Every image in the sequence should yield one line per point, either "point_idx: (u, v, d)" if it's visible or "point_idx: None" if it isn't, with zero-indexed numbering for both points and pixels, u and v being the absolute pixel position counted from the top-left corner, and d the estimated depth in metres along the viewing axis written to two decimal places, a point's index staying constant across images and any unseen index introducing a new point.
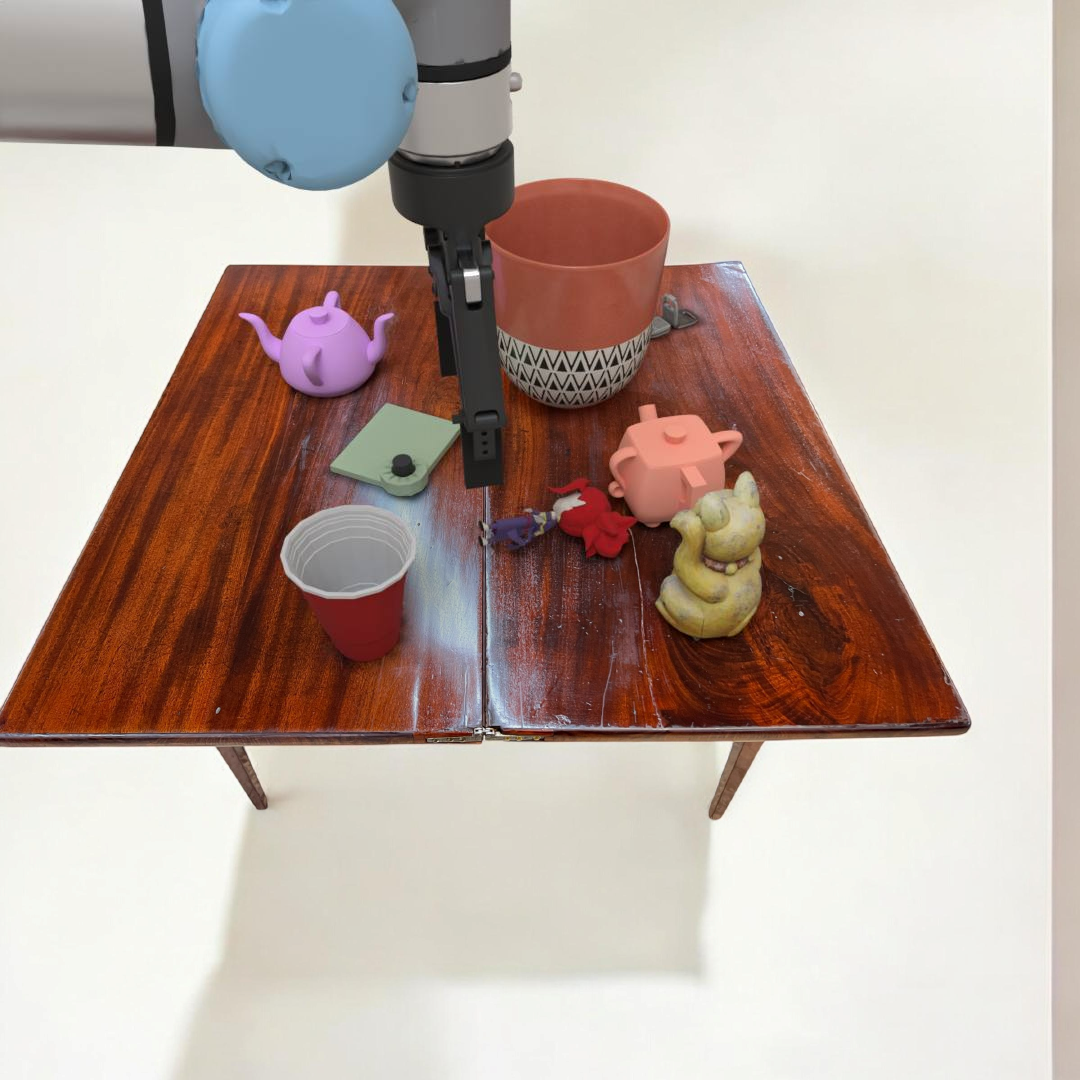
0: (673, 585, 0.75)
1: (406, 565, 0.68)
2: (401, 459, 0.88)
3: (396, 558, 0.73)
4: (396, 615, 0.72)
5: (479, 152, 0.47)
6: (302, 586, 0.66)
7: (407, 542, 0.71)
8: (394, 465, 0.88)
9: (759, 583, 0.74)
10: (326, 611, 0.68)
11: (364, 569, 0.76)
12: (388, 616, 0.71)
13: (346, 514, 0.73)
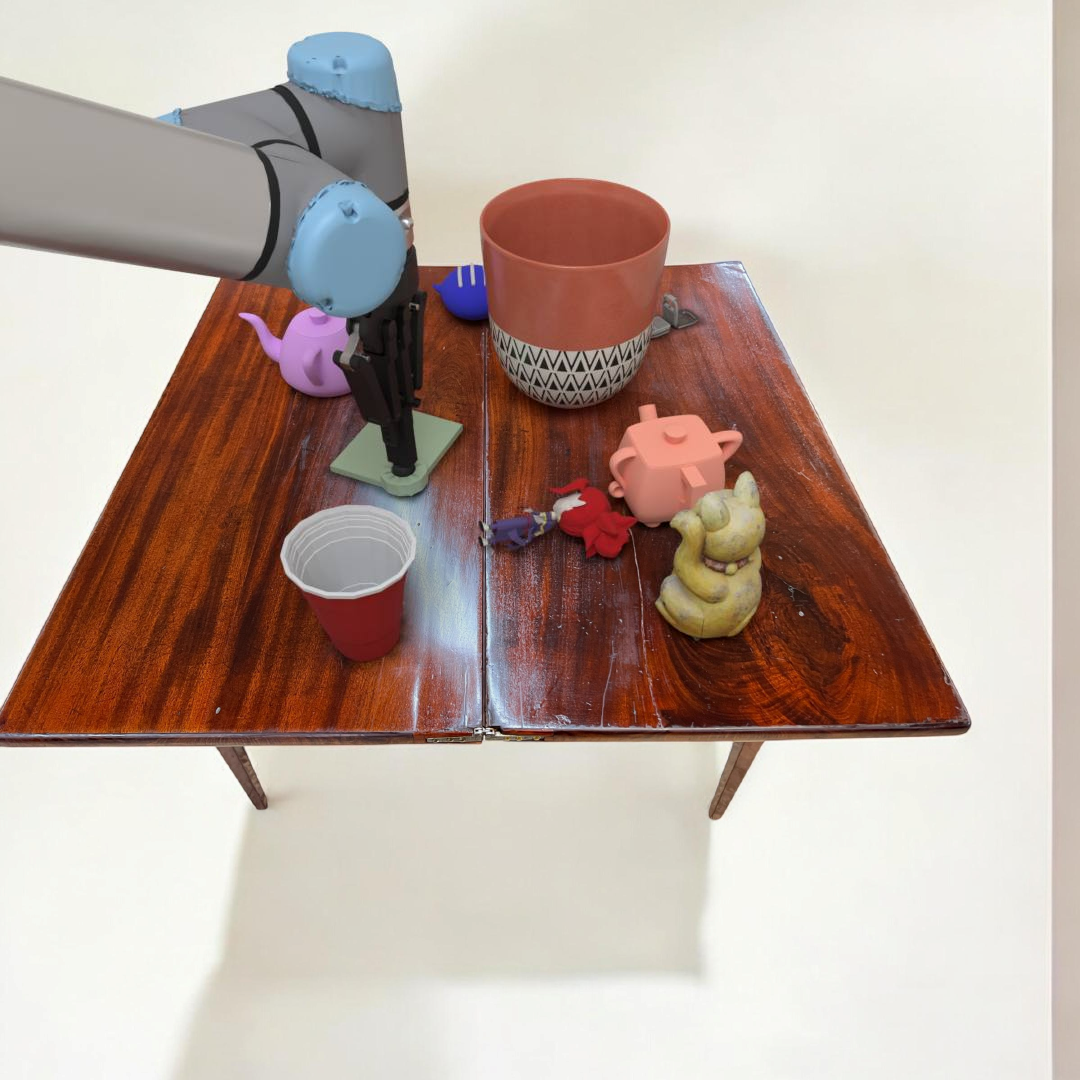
0: (673, 585, 0.75)
1: (406, 565, 0.68)
2: None
3: (396, 558, 0.73)
4: (396, 615, 0.72)
5: None
6: (302, 586, 0.66)
7: (407, 542, 0.71)
8: (394, 468, 0.88)
9: (759, 583, 0.74)
10: (326, 611, 0.68)
11: (364, 569, 0.76)
12: (388, 616, 0.71)
13: (346, 514, 0.73)
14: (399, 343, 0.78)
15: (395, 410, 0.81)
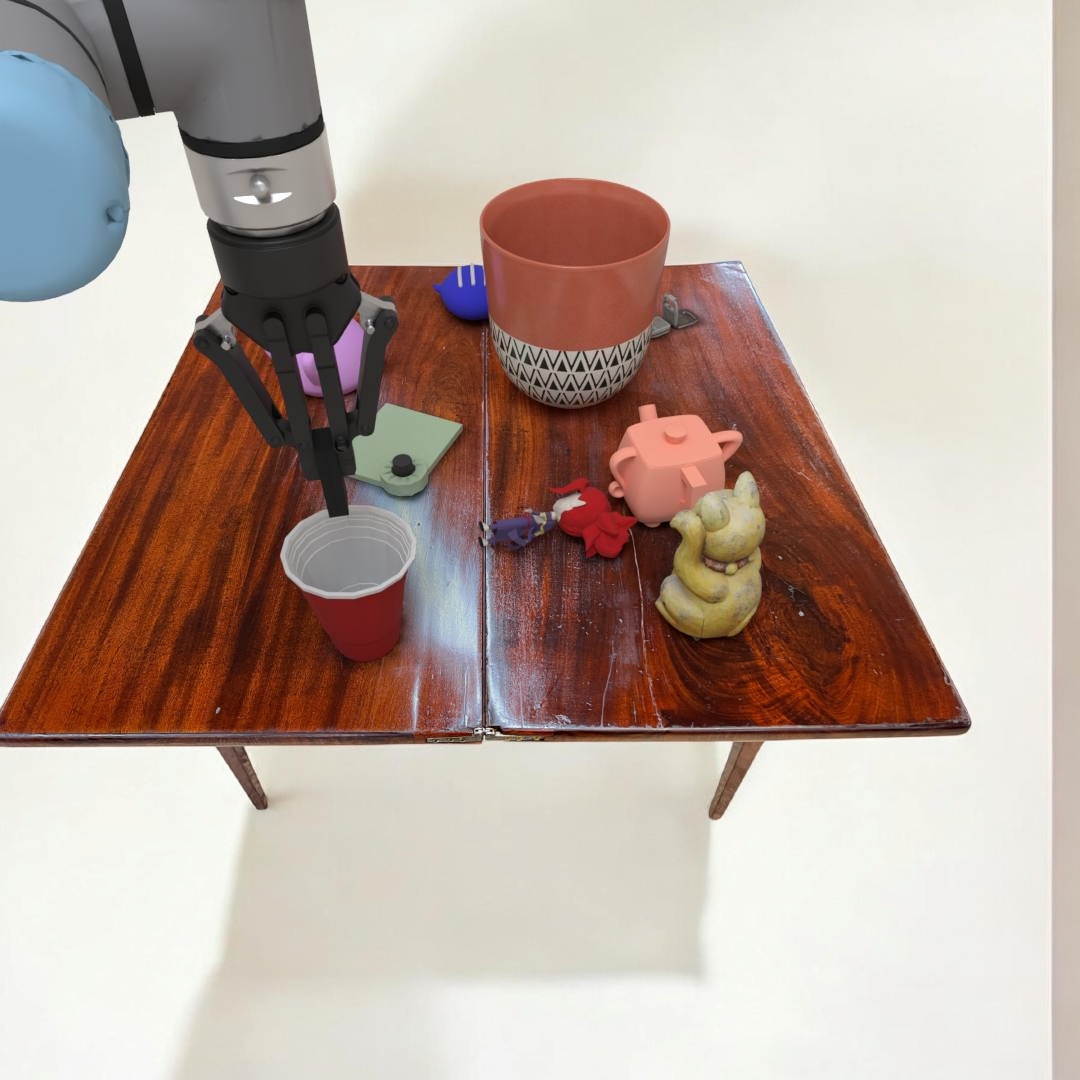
0: (673, 585, 0.75)
1: (406, 565, 0.68)
2: (401, 459, 0.88)
3: (396, 558, 0.73)
4: (396, 615, 0.72)
5: None
6: (302, 586, 0.66)
7: (407, 542, 0.71)
8: (394, 465, 0.88)
9: (759, 583, 0.74)
10: (326, 611, 0.68)
11: (364, 569, 0.76)
12: (388, 616, 0.71)
13: None
14: None
15: (296, 435, 0.59)
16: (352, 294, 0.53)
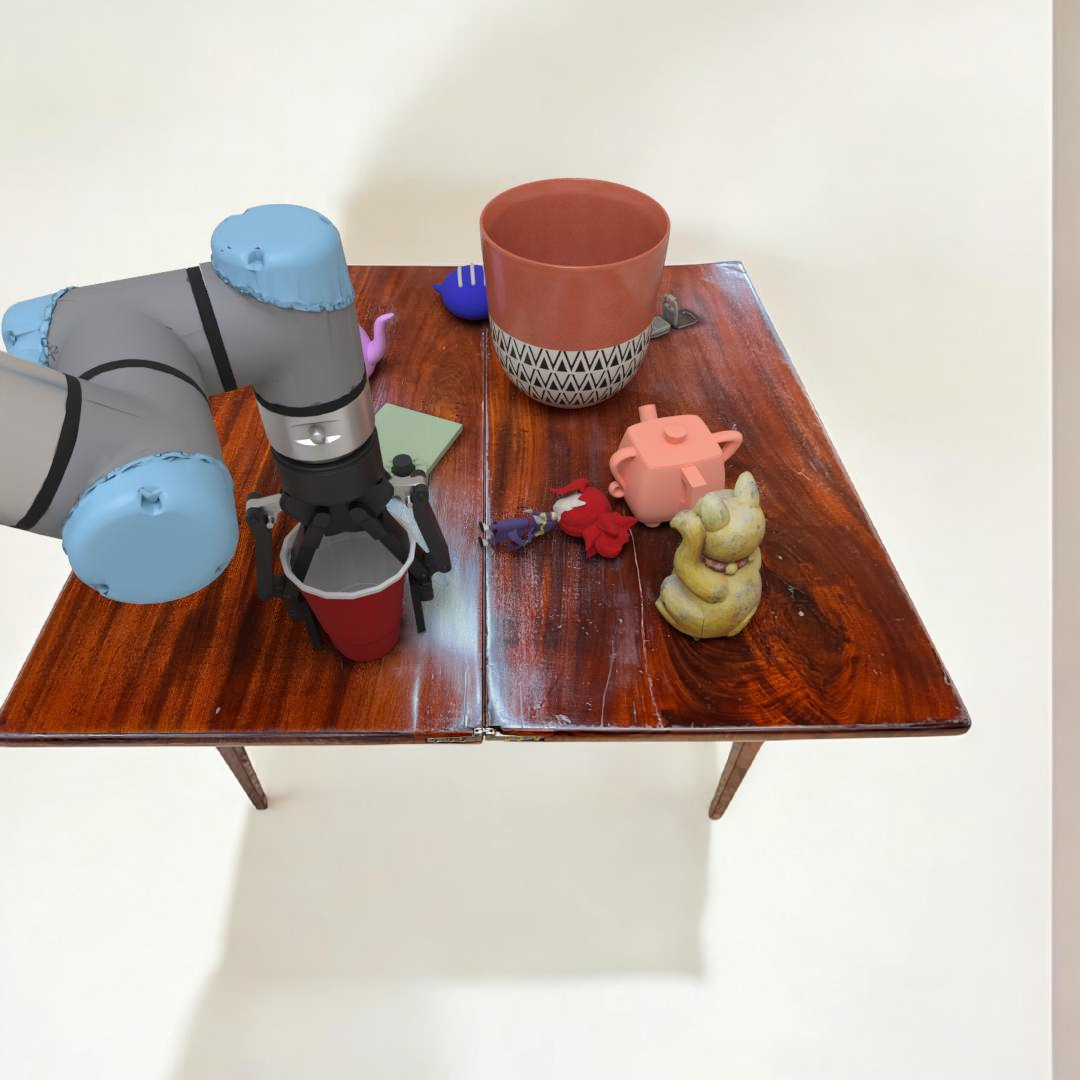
0: (673, 585, 0.75)
1: (405, 565, 0.68)
2: (401, 459, 0.88)
3: (396, 558, 0.73)
4: (396, 615, 0.72)
5: None
6: (301, 586, 0.66)
7: None
8: (394, 465, 0.88)
9: (759, 583, 0.74)
10: (326, 611, 0.68)
11: (364, 569, 0.76)
12: (387, 616, 0.71)
13: None
14: None
15: (288, 589, 0.69)
16: (383, 488, 0.64)
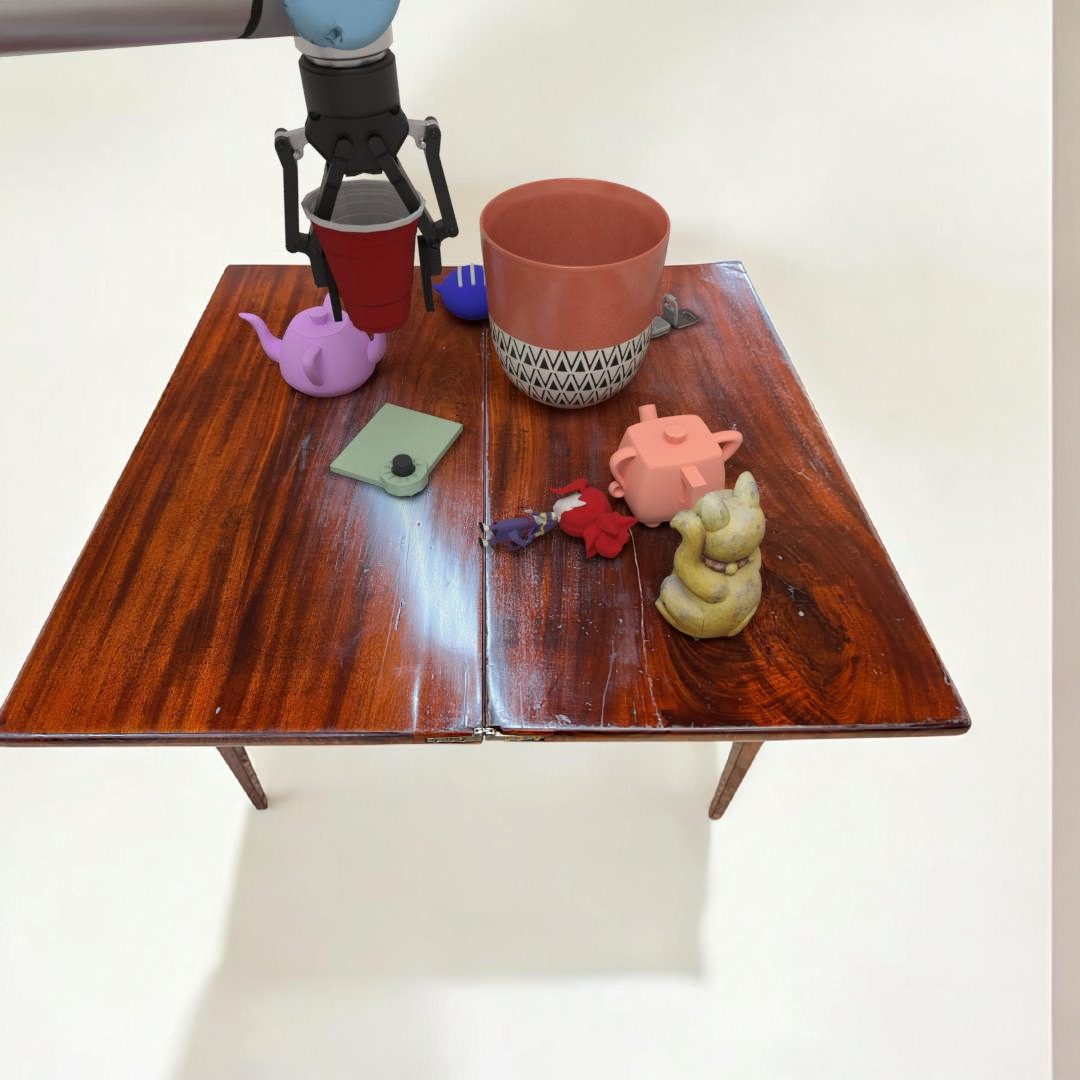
0: (673, 585, 0.75)
1: (414, 213, 0.74)
2: (401, 459, 0.88)
3: None
4: (405, 280, 0.79)
5: (300, 51, 0.65)
6: (319, 220, 0.72)
7: None
8: (394, 465, 0.88)
9: (759, 583, 0.74)
10: (341, 257, 0.75)
11: None
12: (398, 274, 0.77)
13: (363, 187, 0.79)
14: None
15: (313, 241, 0.75)
16: (399, 121, 0.70)
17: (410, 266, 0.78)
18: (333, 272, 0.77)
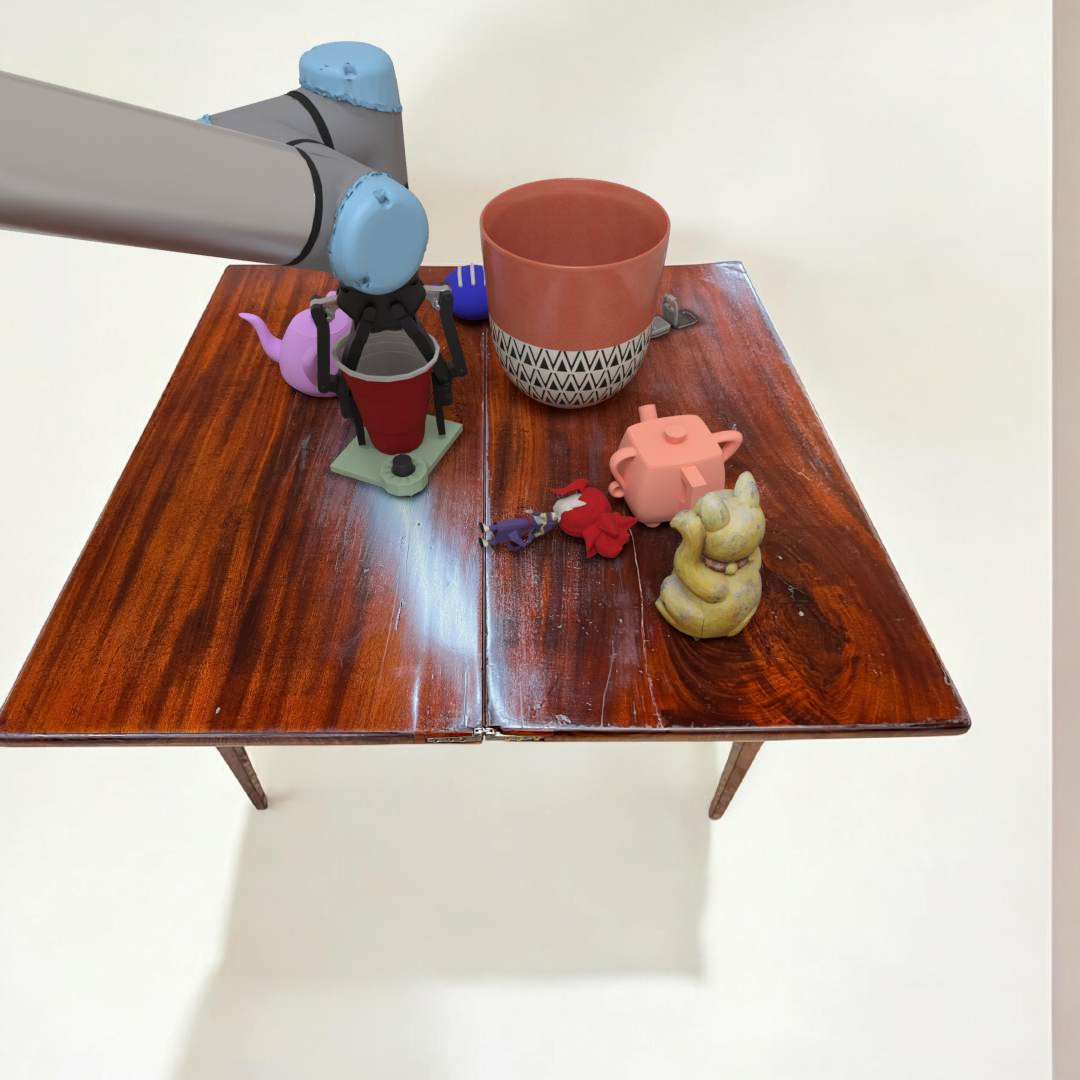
0: (673, 585, 0.75)
1: (430, 362, 0.85)
2: (401, 459, 0.88)
3: None
4: (421, 412, 0.90)
5: None
6: (348, 371, 0.83)
7: None
8: (394, 465, 0.88)
9: (759, 583, 0.74)
10: (366, 398, 0.86)
11: None
12: (415, 410, 0.88)
13: None
14: None
15: (341, 384, 0.87)
16: (418, 290, 0.81)
17: (425, 401, 0.90)
18: (358, 407, 0.89)
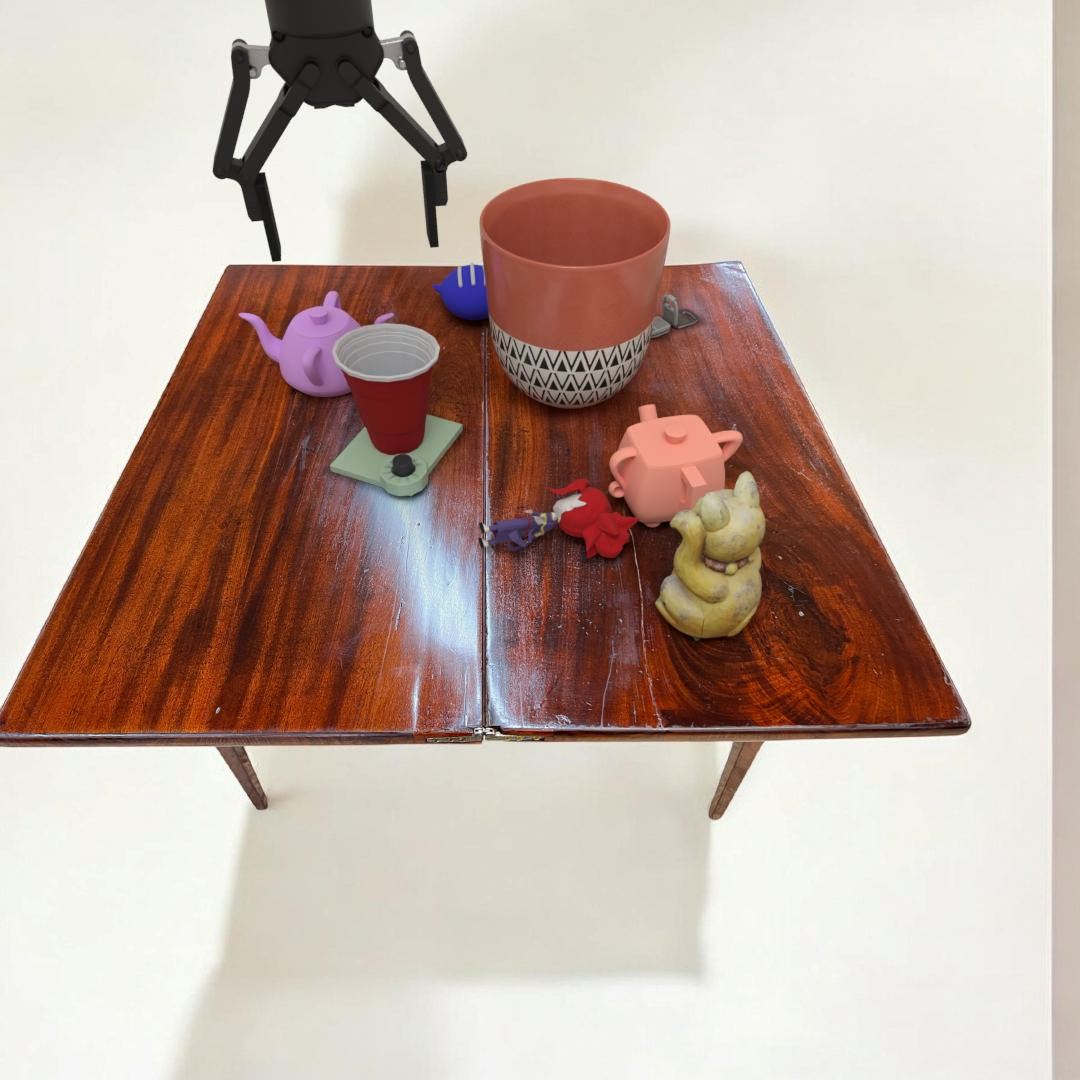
0: (673, 585, 0.75)
1: (431, 362, 0.85)
2: (401, 459, 0.88)
3: None
4: (421, 412, 0.90)
5: None
6: (348, 371, 0.83)
7: (432, 350, 0.88)
8: (394, 465, 0.88)
9: (759, 583, 0.74)
10: (366, 398, 0.86)
11: None
12: (415, 410, 0.88)
13: (384, 330, 0.90)
14: None
15: (247, 166, 0.67)
16: (370, 44, 0.63)
17: (425, 401, 0.90)
18: (358, 407, 0.89)
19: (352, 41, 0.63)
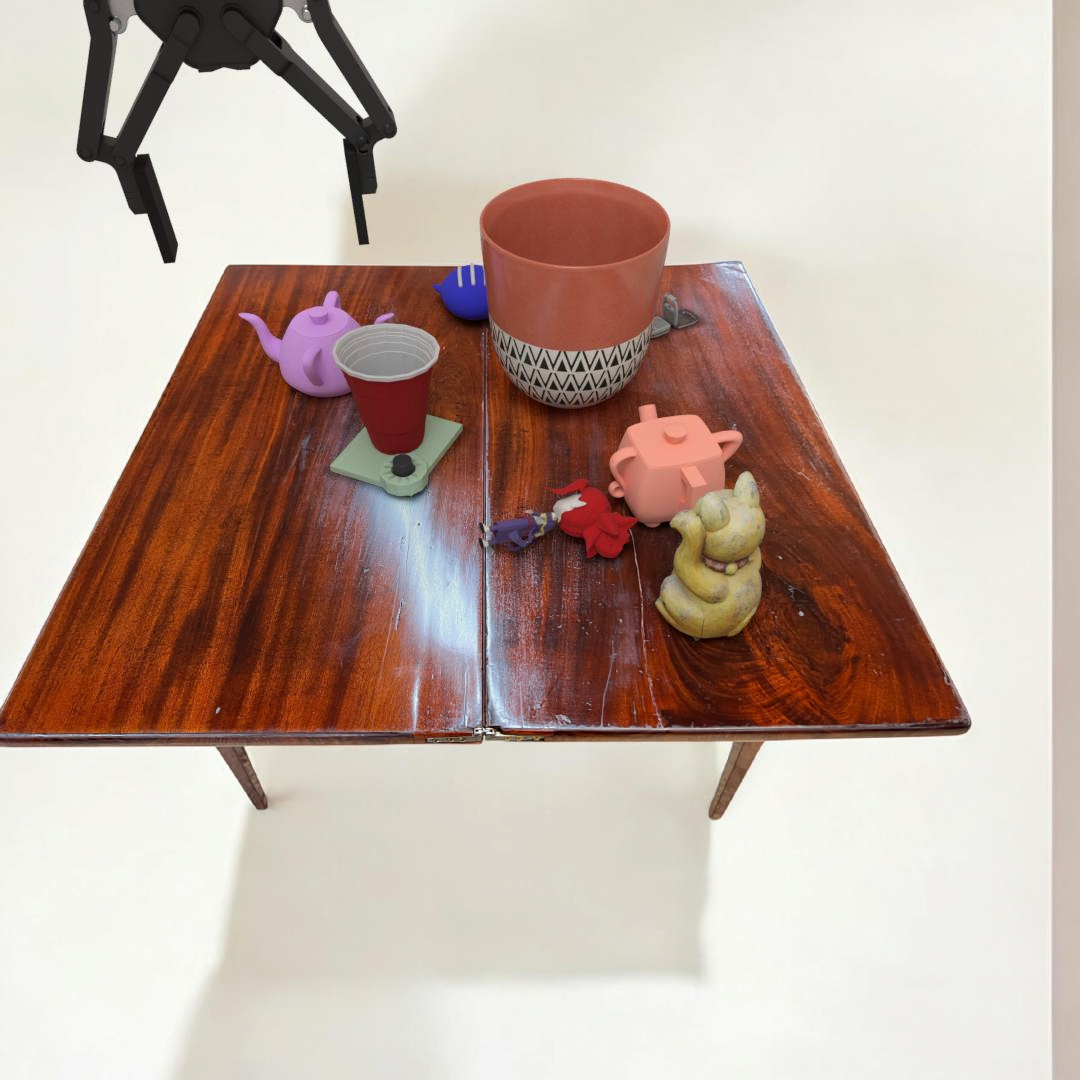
0: (673, 585, 0.75)
1: (431, 362, 0.85)
2: (401, 459, 0.88)
3: None
4: (421, 412, 0.90)
5: None
6: (348, 371, 0.83)
7: (432, 350, 0.88)
8: (394, 465, 0.88)
9: (759, 583, 0.74)
10: (366, 398, 0.86)
11: None
12: (415, 410, 0.88)
13: (384, 330, 0.90)
14: None
15: (120, 145, 0.54)
16: None
17: (425, 401, 0.90)
18: (358, 407, 0.89)
19: None
